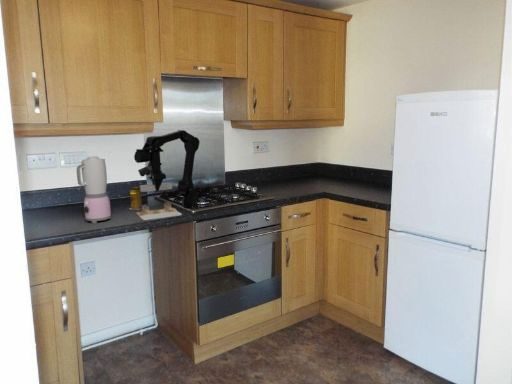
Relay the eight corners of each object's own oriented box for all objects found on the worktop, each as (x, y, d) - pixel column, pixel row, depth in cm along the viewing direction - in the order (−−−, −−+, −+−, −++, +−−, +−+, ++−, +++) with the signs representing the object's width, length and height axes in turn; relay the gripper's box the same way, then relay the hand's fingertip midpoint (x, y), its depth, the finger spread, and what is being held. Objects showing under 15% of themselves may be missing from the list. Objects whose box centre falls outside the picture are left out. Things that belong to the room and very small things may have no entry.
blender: (101, 216, 224) (96, 155, 218) (116, 219, 217) (111, 156, 211) (74, 222, 211) (67, 158, 205) (89, 226, 205) (83, 159, 198)
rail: (170, 188, 229) (170, 182, 228) (172, 188, 226) (171, 183, 226) (140, 190, 222) (139, 185, 221) (141, 191, 219) (141, 186, 219)
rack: (173, 209, 236) (173, 201, 235) (176, 211, 231) (176, 203, 230) (136, 214, 227) (136, 205, 226) (139, 216, 221) (138, 207, 220)
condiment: (127, 209, 239) (126, 188, 237) (137, 206, 247) (136, 185, 244) (138, 210, 236) (136, 188, 234) (147, 207, 244) (146, 186, 241)
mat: (177, 212, 230) (177, 210, 230) (181, 215, 223) (181, 214, 223) (139, 216, 221) (139, 215, 221) (143, 220, 214) (143, 219, 214)
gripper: (135, 160, 226) (137, 189, 229) (143, 163, 209) (145, 195, 212) (156, 158, 231) (157, 187, 234) (165, 162, 214) (167, 193, 217)
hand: (156, 190), depth 224 cm, fingers closed on rail, 3 cm apart
